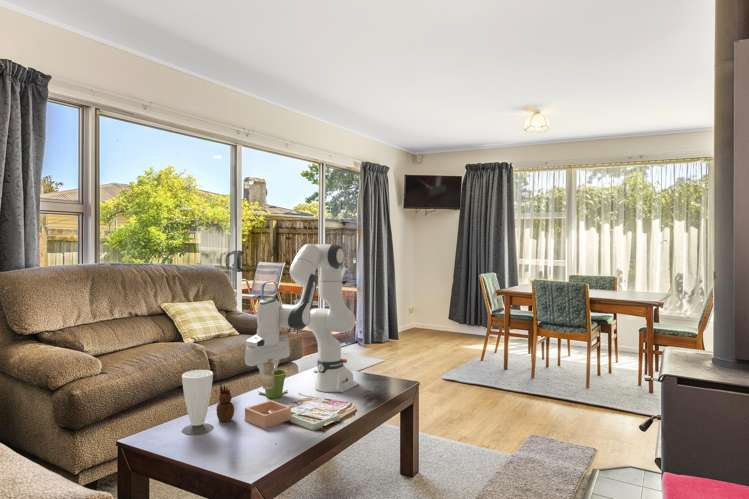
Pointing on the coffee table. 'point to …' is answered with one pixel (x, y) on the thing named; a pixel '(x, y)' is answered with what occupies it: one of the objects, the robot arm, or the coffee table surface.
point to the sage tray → (313, 425)
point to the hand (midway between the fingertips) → (268, 372)
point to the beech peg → (268, 374)
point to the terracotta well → (264, 420)
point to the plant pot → (277, 384)
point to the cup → (197, 400)
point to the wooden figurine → (225, 405)
